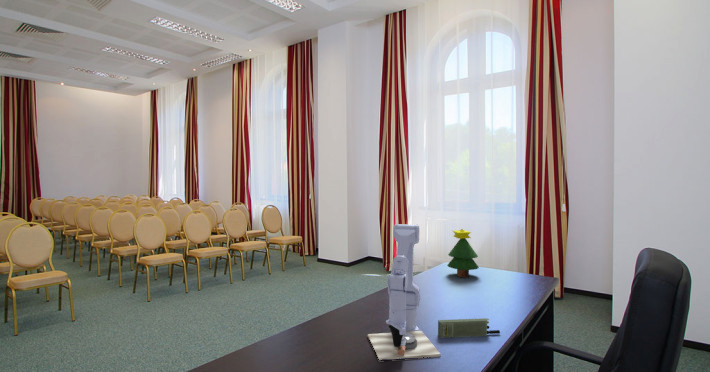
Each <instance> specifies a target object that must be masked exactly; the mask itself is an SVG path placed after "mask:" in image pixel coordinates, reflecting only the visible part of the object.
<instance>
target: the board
mask: <svg viewBox="0 0 710 372" xmlns="http://www.w3.org/2000/svg"><path fill="white" fill-rule="evenodd" d="M406 333H409V334H412V335H414V336H415V342H413V343H411V344H406V348H405V355H404V356H403V355H398V347H394V344H393V338H392V334H391V332H382V333H381V332H380V333H368V334H367V338H368V341H369V340H370V341H369V342H371V343H370V345H371V344H372V345H371V347H372V346H373V347H372V349H373V348H374V349H373V351H374V350H375V352H376V354H375V355H377V356H376V357H378V358H377V360H378V359H379V360H382V359H399V358H400V359H401V358H418V359H427V357H428V358H429V357H431V358H441V357H442V356H441V354H442V353H441V352H440V351H439V350H438V348H436V346H435V345H434V344H433V343H432V342H431V340H430V338H428V337H427V336H426V334H425V333H424V331H422V330H419V331H407V332H406ZM375 352H374V353H375ZM423 357H424V358H423ZM429 359H430V358H429ZM379 360H378V361H379Z"/></svg>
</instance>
